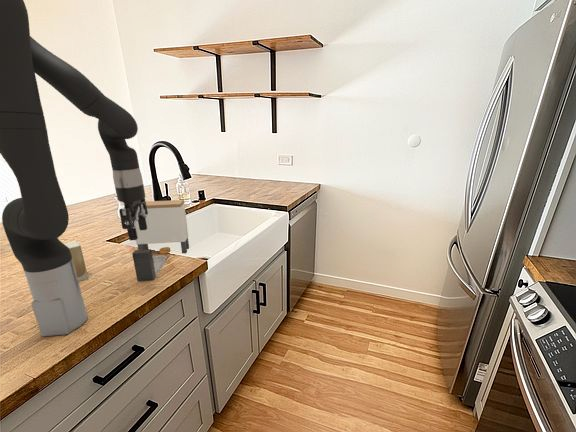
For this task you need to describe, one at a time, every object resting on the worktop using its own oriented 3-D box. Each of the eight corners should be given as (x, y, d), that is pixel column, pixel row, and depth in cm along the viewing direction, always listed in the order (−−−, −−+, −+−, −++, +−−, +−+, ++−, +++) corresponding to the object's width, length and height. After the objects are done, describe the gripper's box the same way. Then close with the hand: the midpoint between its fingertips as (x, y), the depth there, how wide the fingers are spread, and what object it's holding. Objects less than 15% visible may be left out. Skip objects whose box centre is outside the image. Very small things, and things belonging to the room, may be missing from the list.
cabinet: (186, 253, 115) (180, 204, 109) (138, 256, 113) (129, 206, 107) (189, 247, 121) (183, 199, 115) (144, 249, 119) (135, 201, 113)
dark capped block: (153, 280, 96) (148, 252, 93) (137, 281, 95) (132, 253, 92) (167, 258, 111) (163, 233, 108) (153, 259, 111) (149, 234, 108)
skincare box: (69, 276, 99) (60, 243, 95) (84, 272, 102) (76, 239, 98) (73, 283, 95) (64, 249, 91) (89, 278, 97) (80, 245, 94)
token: (169, 254, 116) (168, 250, 115) (158, 254, 115) (158, 251, 115) (171, 250, 119) (171, 246, 119) (161, 250, 119) (161, 247, 118)
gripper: (133, 188, 81) (143, 242, 86) (150, 178, 94) (158, 226, 99) (104, 190, 80) (116, 244, 85) (125, 179, 93) (134, 227, 98)
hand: (138, 234), depth 92 cm, fingers open, 8 cm apart
